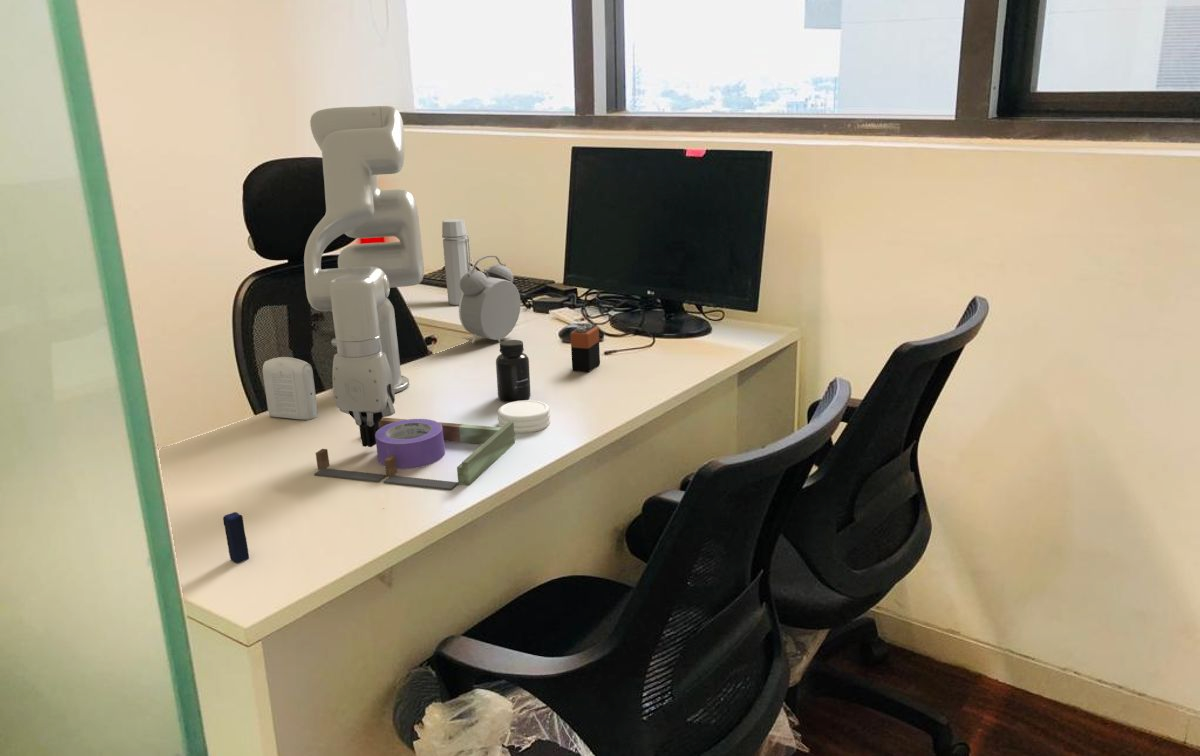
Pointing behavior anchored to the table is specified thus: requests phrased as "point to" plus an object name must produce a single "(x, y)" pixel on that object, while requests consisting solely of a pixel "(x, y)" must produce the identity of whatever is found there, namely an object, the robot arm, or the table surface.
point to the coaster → (525, 415)
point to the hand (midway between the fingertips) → (371, 444)
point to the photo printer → (290, 388)
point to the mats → (392, 479)
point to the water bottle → (455, 256)
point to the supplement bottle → (512, 372)
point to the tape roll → (411, 442)
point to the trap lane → (473, 465)
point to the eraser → (236, 537)
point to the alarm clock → (489, 302)
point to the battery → (585, 348)
